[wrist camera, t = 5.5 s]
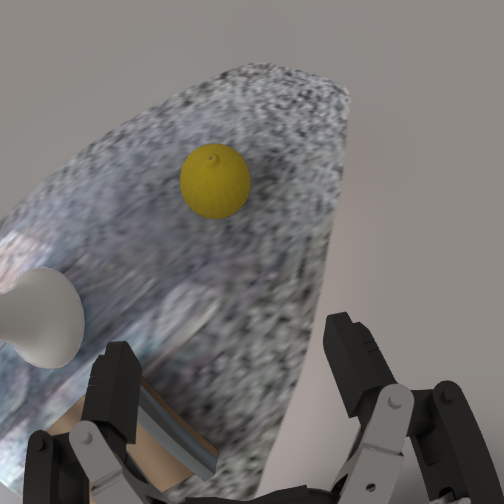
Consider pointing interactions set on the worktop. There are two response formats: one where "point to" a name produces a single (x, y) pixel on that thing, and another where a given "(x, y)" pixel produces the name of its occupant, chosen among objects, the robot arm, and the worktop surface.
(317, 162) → the worktop surface
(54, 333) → the flower vase
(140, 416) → the stop board
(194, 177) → the lemon
